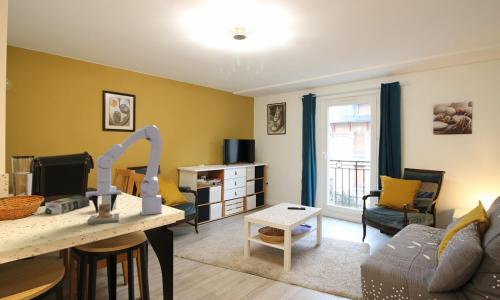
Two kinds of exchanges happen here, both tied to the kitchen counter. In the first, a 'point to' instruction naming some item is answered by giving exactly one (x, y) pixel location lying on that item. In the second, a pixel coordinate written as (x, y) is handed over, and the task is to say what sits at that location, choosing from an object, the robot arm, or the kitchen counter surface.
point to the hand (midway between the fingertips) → (104, 211)
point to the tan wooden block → (104, 211)
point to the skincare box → (109, 198)
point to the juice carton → (67, 204)
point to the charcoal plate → (96, 219)
